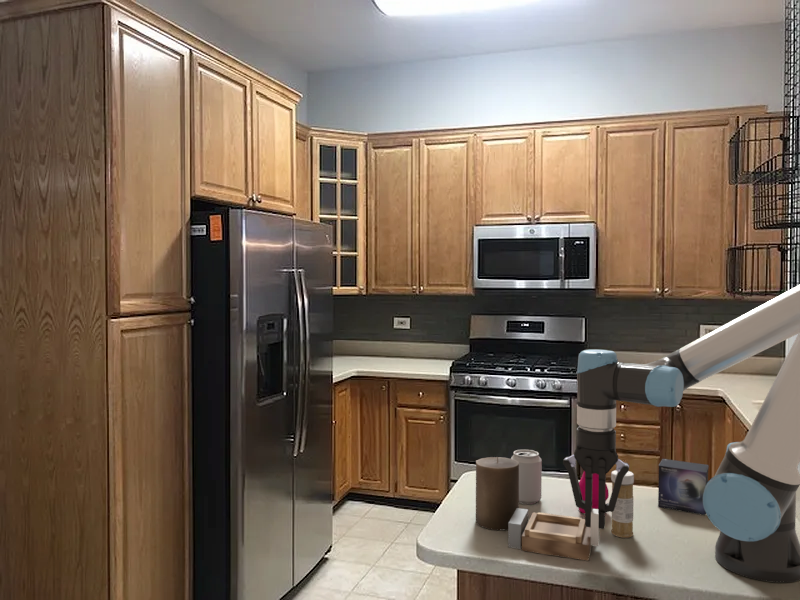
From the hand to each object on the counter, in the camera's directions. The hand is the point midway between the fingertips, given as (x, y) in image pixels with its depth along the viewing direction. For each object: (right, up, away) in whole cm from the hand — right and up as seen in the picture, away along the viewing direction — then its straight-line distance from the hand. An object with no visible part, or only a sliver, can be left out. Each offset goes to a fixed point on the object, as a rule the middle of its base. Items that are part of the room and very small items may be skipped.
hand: (594, 542), depth 129 cm
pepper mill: (+6, -1, +22) cm, 23 cm away
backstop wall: (-14, -1, +5) cm, 15 cm away
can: (-8, -1, +29) cm, 30 cm away
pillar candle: (-18, -1, +15) cm, 23 cm away
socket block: (-7, -1, +3) cm, 7 cm away
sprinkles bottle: (+8, -1, +8) cm, 12 cm away
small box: (+28, -1, +24) cm, 37 cm away
